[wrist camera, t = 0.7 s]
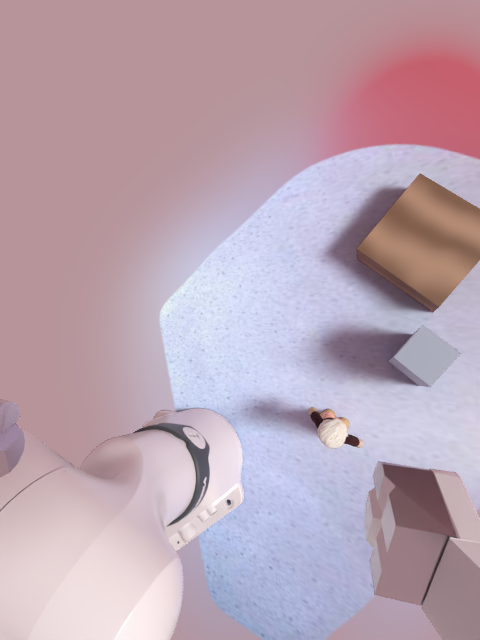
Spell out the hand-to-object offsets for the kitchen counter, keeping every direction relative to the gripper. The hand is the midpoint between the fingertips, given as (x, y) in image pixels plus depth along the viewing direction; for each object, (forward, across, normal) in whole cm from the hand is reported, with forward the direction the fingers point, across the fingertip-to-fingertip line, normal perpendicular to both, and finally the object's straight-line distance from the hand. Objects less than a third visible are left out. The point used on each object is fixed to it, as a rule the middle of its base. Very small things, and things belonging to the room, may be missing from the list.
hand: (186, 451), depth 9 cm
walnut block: (+54, +19, -6) cm, 57 cm away
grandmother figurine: (+41, +10, -30) cm, 52 cm away
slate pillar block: (+45, +19, -20) cm, 53 cm away
